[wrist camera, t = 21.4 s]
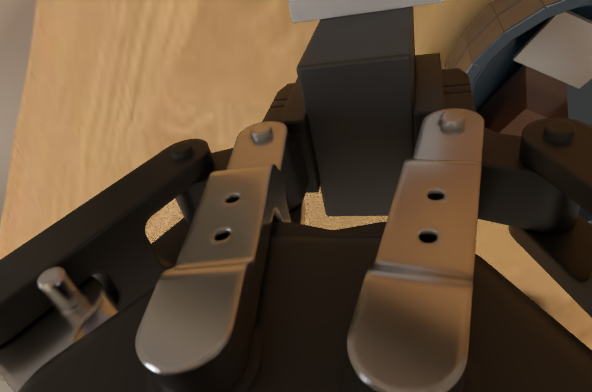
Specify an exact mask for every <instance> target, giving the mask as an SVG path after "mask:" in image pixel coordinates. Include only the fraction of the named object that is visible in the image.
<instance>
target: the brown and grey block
mask: <svg viewBox="0 0 592 392" xmlns="http://www.w3.org/2000/svg"><path fill="white" fill-rule="evenodd" d="M513 60H514V61H516V62H518V63H521V64H523V66H522V67H521V68H520V69H519V70H518V71H517V72H516V73H515V74H514V75H513V76H512V77H511V78H510V79H509V80H508V81H507V82H506V83H505V84H504V85H503V86H502V87H501V88H500V89H499V90H498V91H497V92H496V93H495V94H494V95H493V96H492V97H491V98H490V99H489V100H488V101H487V102H486V103H485V104H484V105H483V106H482V107H481V108H480V109H479V110H478V111H477V112H476V113H478V114H479V115H481V116H482V117H483V119H484V127H485V128H487V129H489V130H491V131H494V132H497V133H501V134H508V135H516V136H521V135H522V131H523V129H524V127H525V126H526V125H528V124H529V123H531V122H533V121H536V120H540V119H546V118H567V119H569V115H568V103H567V90H566V83H567V84H569V85H572V86H574V87H576V88H578V89H580V88H581V87H582V86H583V85H585V84H586V83H587V82H588V81H589V80H591V79H592V21H591V20H589V19H587V18H584V17H582V16H580V15H578V14H576V13H573V12H571V11H566V12H563V13H560V14H558V15H555V16H552V17H550V18H549V19H548V20H547V21H546V23H545V24H544V25H543V26H542V27H541V28H540V29H539V30H538V31H537V32H536V33H535V34H534V35H533V36H532V37H531V38H530V39H529V41H528V42H527V43H526V44H525V45H524V46H523V47H522V48H521V49H520V50H519V51H518V52H517V53H516V54H515V55H514V56H513Z"/></svg>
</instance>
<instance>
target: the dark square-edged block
mask: <svg viewBox="0 0 592 392" xmlns="http://www.w3.org/2000/svg"><path fill="white" fill-rule="evenodd" d="M442 2H444V0H288V4H289V9H290V14H291V19H292V23H298V22H305V21H313V20H320V19H321V20H320V22H319V24H318V26H317V28H316V30H315V32H314V34H313V36H312V38H311V40H310V42H309V44H308V46H307V48H306V50H305V52H304V54H303V56H302V58H301V60H300V62H299V64H298V66H297V74H298V79H299V84H300V89H301V94H302V99H303V104H304V109H305V113H306V114H307V119H308V124H309V129H310V134H311V140H312V145H313V150H314V155H315V160H316V165H317V170H318V175H319V180H320V187H321V192H322V197H323V202H324V207H325V212H326V215H327V216H389V212H390V209H391V205H392V202H393V198H394V195H395V191H396V188H397V185H398V181H399V178H400V174H401V171H402V167H403V164H404V161H405V159H412V158H413V155H414V151H415V150H414V118H413V105H414V56H415V47H414V16H413V6H420V5H427V4H434V3H442Z"/></svg>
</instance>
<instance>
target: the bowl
mask: <svg viewBox="0 0 592 392" xmlns="http://www.w3.org/2000/svg"><path fill="white" fill-rule="evenodd" d="M566 11H571V12H573V13H576V14H578V15H580V16H582V17H584V18H587V19H589V20H591V21H592V0H494V1H493V2H492V3H490V4H489V5H488V6H487V7H486V8H485V9H484V10H483V11H482V12H481V13H480V15H479V16H478V17H477V18H476V19H475V20H474V21H473V22H472V23H471V24H470V25H469V26H468V27H467V28H466V29H465V31H464V32H463V34H462V35H461V37H460V39H459V40H458V42H457V44H456V46H455V47H454V49H453V51H452V52H451V54H450V56H449V57H448V60H447V62H446V66H445V69H452V68H460V69H461V70H462V71H464V72H465V73H467V74H468V76H469V80H470V85H471V90H472V95H473V99H474V104H475V109H476V112H477V111H478V110H479V109H480V108H481V107H482V106H483V105H484V104H485V103H486V102H487V101H488V100H489V99H490V98H491V97H492V96H493V95H494V94H495V93H496V92H497V91H498V90H499V89H500V88H501V87H502V86H503V85H504V84H505V83H506V82H507V81H508V80H509V79H510V78H511V77H512V76H513V75H514V74H515V73H516V72H517V71H518V70H519V69H520V68H521V67H522V66H523V64H521V63H518V62H516V61H514V60H513V56H514V55H515V54H516V53H517V52H518V51H519V50H520V49H521V48H522V47H523V46H524V45H525V44H526V43H527V42H528V41H529V39H530V38H531V37H532V36H533V35H534V34H535V33H536V32H537V31H538V30H539V29H540V28H541V27H542V26H543V25H544V24H545V23H546V21H547V20H548V19H549V18H550V17H552V16H555V15H558V14H560V13H563V12H566ZM566 90H567V103H568V115H569V119H573V120H577V121H580V122H583V123H585V124H587V125H589V126H591V127H592V79H591V80H589V81H588V82H587V83H586V84H585V85H583V86H582V87H581V88H580V89H578V88H576V87H574V86H572V85H569V84H567V83H566ZM578 214H579V215H580V216H582V217H583V218H584V219H585V220H587V221H588V222H589V223H590V224H592V215H591V214H590V213H588V212H587V211H586V210H584V209H583V208H582V207H581V206H580V209H579V213H578Z"/></svg>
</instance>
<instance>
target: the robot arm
mask: <svg viewBox="0 0 592 392" xmlns="http://www.w3.org/2000/svg"><path fill="white" fill-rule="evenodd" d="M413 118H414V150H415V151H414V155H413V158H412V159H405V161H404V164H403V167H402V171H401V174H400V178H399V181H398V185H397V188H396V191H395V195H394V198H393V202H392V205H391V209H390V212H389V216H388V219H387V222H379V223H373V224H368V225H362V226H356V227H351V228H345V229H339V230H327V229H322V228H317V227H312V226H307V225H305V212H306V208H305V203H304V196H305V193H306V192H318V191H319V187H320V180H319V175H318V170H317V165H316V160H315V155H314V150H313V145H312V140H311V134H310V129H309V124H308V119H307V114H306V113H305V109H304V104H303V99H302V94H301V89H300V84H299V79H298V78H297V80H296V82H295V83H291V84H287V85H286V86H285V87H283V88H282V89H281V90H280V91H278V93H277V95H276V97H275V99H274V102H272V104H271V106H270V108H269V110H268V112H267V114H266V116H265V118H264V120H263V121H262V122H260V123H257V124H254V125H251V126H249V127H247V128H246V129H244V130H243V131H242V132H241V133H240V134H239V135H238V137H237V139H236V142H235V145H234V148H231V149H227V150H223V151H219V152H215V153H211V152H210V149H209V146H208V144H207V142H206V141H204V140H201V139H188V140H184V141H180V142H178V143H175V144H173V145H171V146H169V147H168V148H166V149H165V150H163V151H162V152H160V153H159V154H157V155H156V156H154V157H153V158H151V159H150V160H148V161H147V162H145V163H144V164H142V165H141V166H139V167H138V168H136V169H135V170H133V171H132V172H130V173H129V174H127V175H126V176H124V177H123V178H122V179H120V180H119V181H117V182H116V183H114V184H113V185H111V186H110V187H108V188H107V189H105V190H104V191H102V192H101V193H99V194H98V195H96V196H95V197H93V198H92V199H90V200H89V201H87V202H86V203H84V204H83V205H81V206H80V207H78V208H77V209H75V210H74V211H72V212H71V213H69V214H68V215H66V216H65V217H63V218H62V219H61V220H59V221H58V222H56V223H55V224H53V225H52V226H50V227H49V228H47V229H46V230H44V231H43V232H41V233H40V234H38V235H37V236H35V237H34V238H32V239H31V240H29V241H28V242H26V243H25V244H23V245H22V246H20V247H19V248H17V249H16V250H14V251H13V252H11V253H10V254H8V255H7V256H5V257H4V258H2V259H1V260H0V379H1V380H2V381H6V382H7V384H8V385H9V386H10V387H11V389H12V390H13V391H14V392H592V350H591V349H589V348H588V347H587V346H586V345H585V344H584V343H582V342H581V341H580V340H579V339H578V338H576V337H575V336H574V335H573V334H572V333H570V332H569V331H568V330H567V329H566V328H564V327H563V326H562V325H561V324H560V323H559V322H557V321H556V320H555V319H554V318H553V317H551V316H550V315H549V314H548V313H547V312H545V311H544V310H543V309H542V308H541V307H540V306H538V305H537V304H536V303H535V302H534V301H532V300H531V299H530V298H529V297H528V296H526V295H525V294H524V293H523V292H522V291H521V290H519V289H518V288H517V287H516V286H515V285H513V284H512V283H511V282H510V281H509V280H507V279H506V278H505V277H504V276H503V275H502V274H500V273H499V272H498V271H497V270H496V269H494V268H493V267H492V266H491V265H490V264H488V263H487V262H486V261H485V260H483V259H482V258H481V257H479V256H478V255H476V254H475V248H476V234H477V220H478V219H482V220H486V221H491V222H496V223H500V224H505V225H509V232H510V234H511V236H512V237H513V238H514V239H515V240H516V241H517V242H518V243H519V244H520V245H521V246H522V247H523V248H524V249H525V250H526V251H527V252H528V253H529V254H530V255H531V257H532V258H533V259H534V260H535V261H536V262H537V263H538V264H539V265H540V266H541V267H542V268H543V269H544V270H545V271H546V272H547V273H548V274H549V275H550V276H551V277H552V278H553V279H554V280H555V281H556V282H557V283H558V284H559V285H560V286H561V287H562V288H563V289H564V290H565V291H566V292H567V293H568V294H569V295H570V296H571V297H572V298H573V299H574V300H575V301H576V302H577V303H578V304H579V305H580V306H581V307H582V308H583V309H584V310H585V311H586V312H587V313H588V314H589V315H590V316H591V317H592V224H590V223H589V222H588V221H587V220H585V219H584V218H583V217H582V216H580V215H579V214H578V213H579V209H580V206H581V207H582V208H583V209H584V210H586V211H587V212H588V213H590V214H591V215H592V127H591V126H589V125H587V124H585V123H583V122H580V121H577V120H573V119H567V118H546V119H540V120H536V121H533V122H531V123H529V124H528V125H526V126H525V127H524V129H523V131H522V135H521V136H516V135H508V134H501V133H497V132H494V131H491V130H489V129H487V128H485V127H484V119H483V117H482V116H481V115H479V114H478V113H476V109H475V104H474V99H473V95H472V90H471V85H470V80H469V76H468V74H467V73H465V72H464V71H462V70H461V69H460V68H452V69H441V62H440V53H434V54H424V55H415V56H414V105H413ZM174 198H176V200H177V203H178V205H179V207H180V209H181V211H182V214H183V216H184V218H183V219H182V220H180V221H179V222H178V223H177V224H175V225H174V226H173V227H172V228H171V229H169V230H168V231H167V232H166V233H164V234H163V235H162V236H161V237H159V238H158V239H157V240H156V241H155V242H153V243H152V244H150V242H149V240H148V238H147V236H146V234H145V226H146V223H147V221H148V219H149V218H150V217H151V216H152V215H154V214H155V213H156V212H157V211H159V210H160V209H161V208H163V207H164V206H165V205H167V204H168V203H169V202H171V201H172V200H173V199H174Z"/></svg>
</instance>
